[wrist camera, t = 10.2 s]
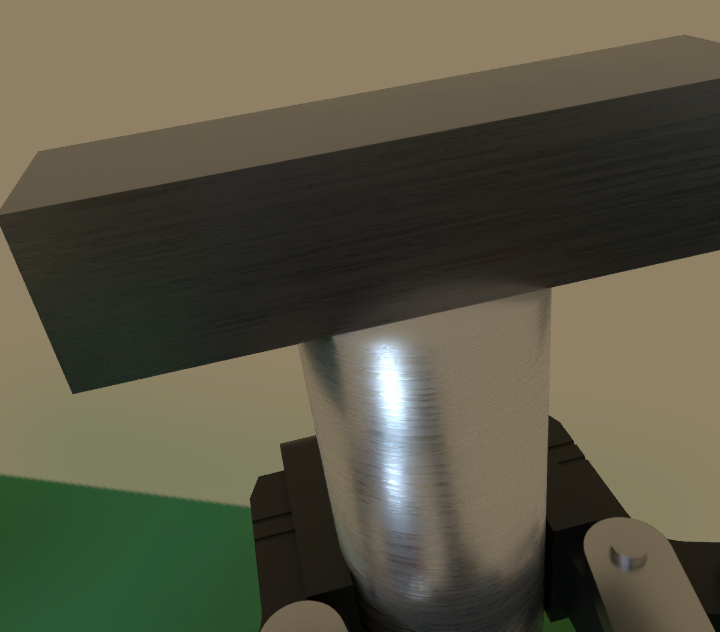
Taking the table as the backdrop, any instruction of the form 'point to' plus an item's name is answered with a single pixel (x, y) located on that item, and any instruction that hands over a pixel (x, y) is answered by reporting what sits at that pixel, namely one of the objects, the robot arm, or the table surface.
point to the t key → (389, 285)
